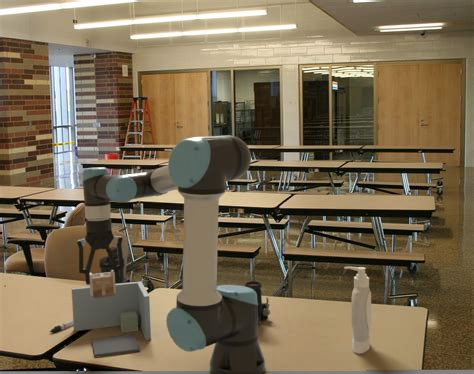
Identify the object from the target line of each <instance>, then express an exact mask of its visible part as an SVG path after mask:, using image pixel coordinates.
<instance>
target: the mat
mask: <svg viewBox="0 0 474 374" xmlns="http://www.w3.org/2000/svg"><path fill="white" fill-rule="evenodd" d="M91 345H92V349H94V350H93V354H94V355H93V356H94V358H98V357H97V356H101V357H106V356H107V357H108V356H115V355H121V354H122V355H123V354H131V353H139V352H140V347H139V344H138V342H137V339H136V336H135V333H132V334H131V333H130V334H123V335H113V336H106V337H98V338H97V337H96V338H91Z"/></svg>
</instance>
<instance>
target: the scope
mask: <svg viewBox="0 0 474 374" xmlns="http://www.w3.org/2000/svg"><path fill="white" fill-rule="evenodd" d="M244 286H245V287H249V288H251V289H253V290H255V292H256V294H257V303H258V327H259V326H260V325H261V321H267V320H268V319H269V316H270V314H271V310H270V302H269V301H270V300H269V296H268V297H266V298H265V299H266V302H265V303H264V302H263V301H262V298H263V297H262V289H261V288H262V282H260V281H256V280H255V281H247V282H245V283H244Z"/></svg>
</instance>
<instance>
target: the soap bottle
mask: <svg viewBox="0 0 474 374" xmlns="http://www.w3.org/2000/svg"><path fill="white" fill-rule="evenodd" d="M343 269H344V270H345V269H346V270H348V269H349V270H351V271H352V270H353V271H356V272H357V273H356V275H355V276H354V277H353V290H352V292H351V312H350V313H351V314H350V315H351V317H350V318H351V327H352V328H351V329H352V342H351V350H352V352H353V353H355V354H357V355H360V354H365V353H366V352H368V351H369V350H370V348H371V341H370V340H371V337H370V331H371V330H370V329H371V324H372V322H371V321H372V292H371V289H370V277H368V276H367V273H366V267H364V266H359V267H357V266H344V268H343Z"/></svg>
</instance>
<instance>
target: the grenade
mask: <svg viewBox="0 0 474 374" xmlns="http://www.w3.org/2000/svg"><path fill="white" fill-rule="evenodd" d="M110 250H111V253H112V255H113V258H114V260H115V262H116V265H119V260H118V253H117V246H116V247H115V246H112V247H110ZM122 255H123V263H124V267H125V258H124V254H123V253H122ZM98 264H99V265H98V266H99V269H100V273H106V272H111V270H114V269H113V266H112V264H111V261H110V259H109V256H108V255H107V256H103V257H102V258H100V259H99V260H98ZM124 271H125V270H124V268H123V269H120V270H119V271H118V277H119V280H118V281H117V282H115V284H120V283H125V273H124Z"/></svg>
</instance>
